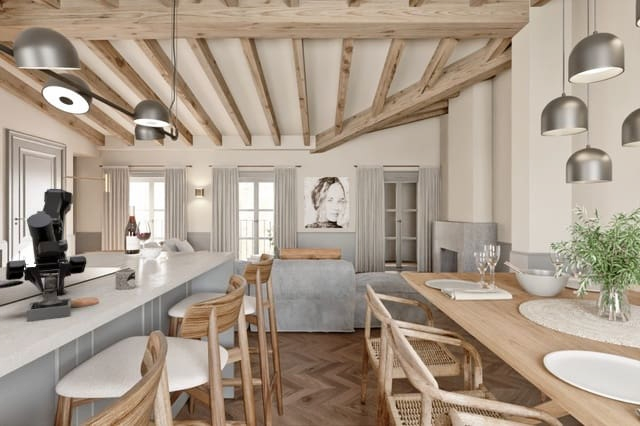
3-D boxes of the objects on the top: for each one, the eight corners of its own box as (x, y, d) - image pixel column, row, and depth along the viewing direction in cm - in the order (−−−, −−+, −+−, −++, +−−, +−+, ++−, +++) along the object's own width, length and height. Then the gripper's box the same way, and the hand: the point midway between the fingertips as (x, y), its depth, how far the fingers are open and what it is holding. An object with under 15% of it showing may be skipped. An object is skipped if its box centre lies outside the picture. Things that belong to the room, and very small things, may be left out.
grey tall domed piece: (49, 318, 100) (49, 275, 100) (31, 316, 101) (32, 274, 101) (67, 312, 106) (68, 271, 106) (51, 311, 107) (51, 270, 107)
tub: (30, 312, 105) (31, 302, 105) (70, 308, 110) (70, 298, 110) (26, 321, 97) (26, 310, 97) (70, 316, 102) (70, 305, 102)
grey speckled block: (130, 289, 136) (130, 272, 136) (112, 290, 135) (112, 272, 135) (141, 284, 146) (141, 268, 146) (124, 284, 145) (124, 268, 145)
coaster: (67, 302, 117) (67, 299, 117) (98, 299, 121) (98, 296, 121) (66, 308, 110) (66, 305, 110) (99, 304, 114) (99, 301, 114)
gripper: (6, 232, 100) (10, 277, 92) (85, 230, 113) (94, 269, 105) (4, 257, 105) (7, 302, 98) (79, 252, 119) (87, 292, 111)
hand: (51, 290), depth 103 cm, fingers closed on grey tall domed piece, 4 cm apart
